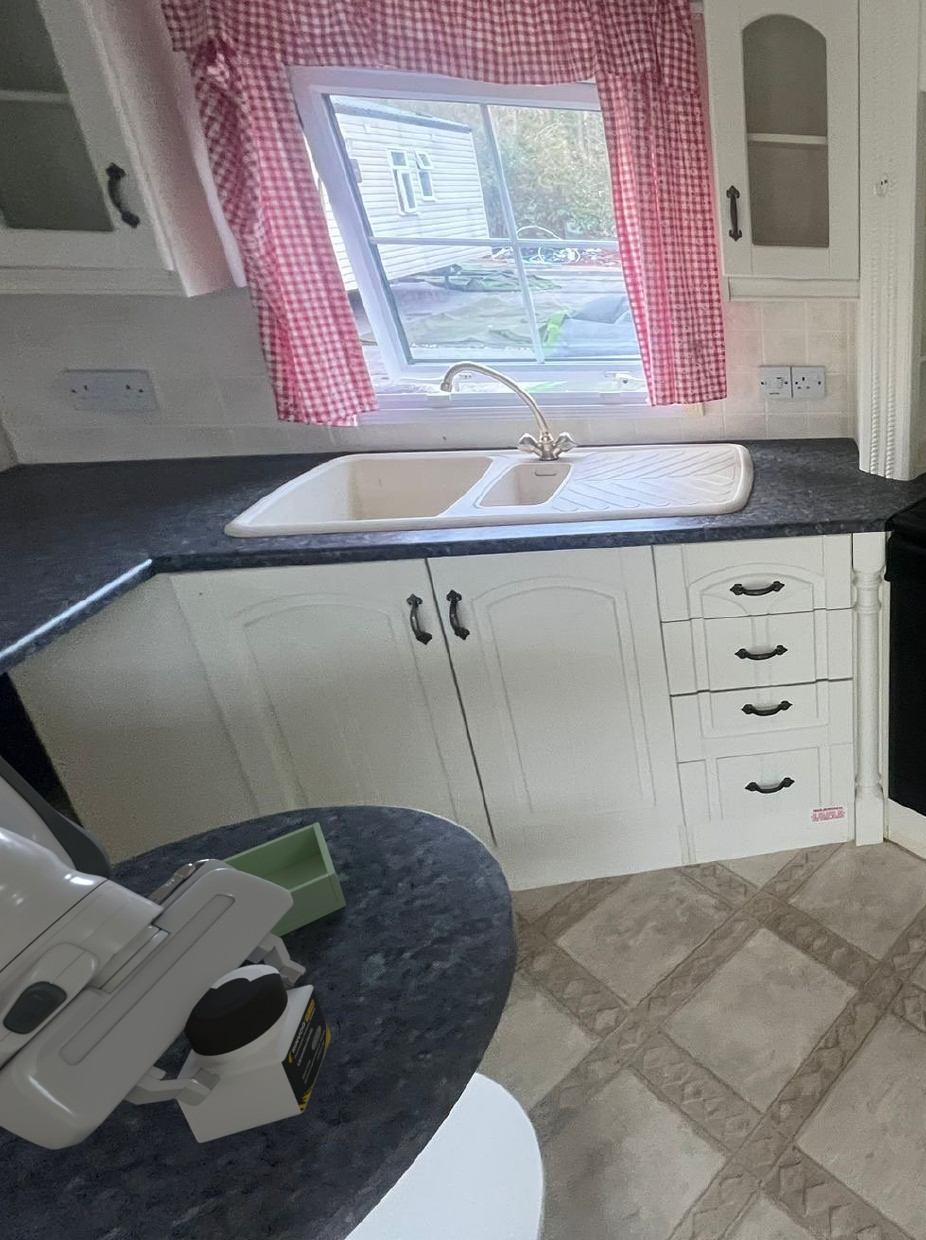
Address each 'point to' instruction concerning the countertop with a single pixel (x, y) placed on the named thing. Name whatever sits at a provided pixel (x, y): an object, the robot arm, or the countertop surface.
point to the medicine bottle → (253, 1051)
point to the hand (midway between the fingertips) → (255, 1033)
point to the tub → (296, 875)
